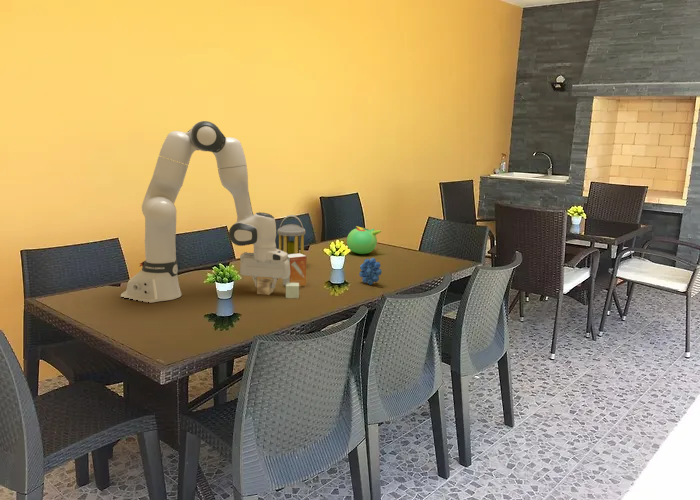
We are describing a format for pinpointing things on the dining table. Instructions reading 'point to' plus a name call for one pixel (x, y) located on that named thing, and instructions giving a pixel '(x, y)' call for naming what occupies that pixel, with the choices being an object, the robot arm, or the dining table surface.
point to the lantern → (291, 230)
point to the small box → (297, 269)
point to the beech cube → (264, 286)
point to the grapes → (370, 271)
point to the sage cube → (292, 290)
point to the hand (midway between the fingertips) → (265, 287)
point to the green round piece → (362, 240)
